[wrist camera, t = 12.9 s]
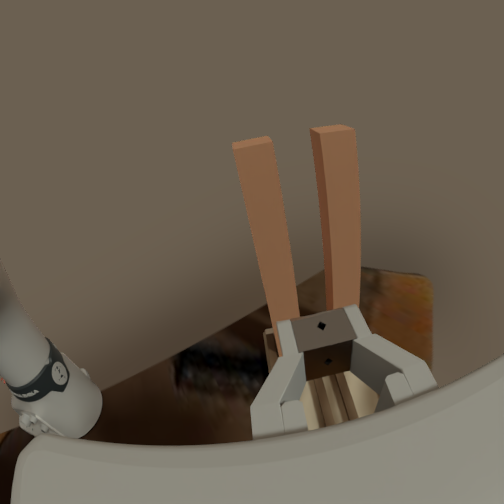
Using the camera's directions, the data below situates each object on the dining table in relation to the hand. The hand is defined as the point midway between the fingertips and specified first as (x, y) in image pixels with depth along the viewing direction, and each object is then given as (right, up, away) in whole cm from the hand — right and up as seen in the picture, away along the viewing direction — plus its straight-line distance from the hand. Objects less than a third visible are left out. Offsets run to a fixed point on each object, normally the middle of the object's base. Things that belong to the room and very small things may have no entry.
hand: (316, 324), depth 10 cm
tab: (+4, -12, +36) cm, 38 cm away
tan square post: (+13, -10, +36) cm, 39 cm away
